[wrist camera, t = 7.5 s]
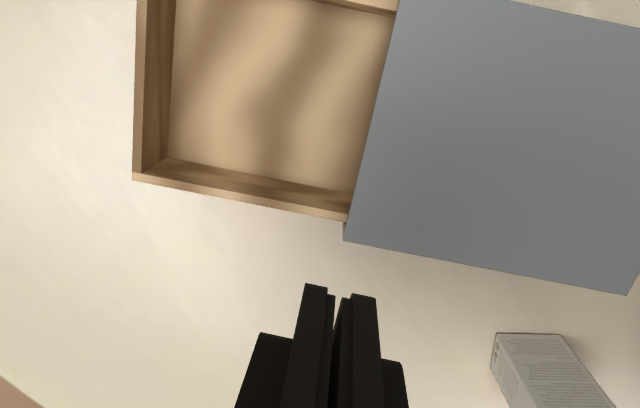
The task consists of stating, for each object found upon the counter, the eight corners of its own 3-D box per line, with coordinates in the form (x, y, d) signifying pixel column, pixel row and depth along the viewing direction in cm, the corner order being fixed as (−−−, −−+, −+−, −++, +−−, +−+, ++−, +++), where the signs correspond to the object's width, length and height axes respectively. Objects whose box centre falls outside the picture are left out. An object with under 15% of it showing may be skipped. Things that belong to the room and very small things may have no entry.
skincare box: (488, 367, 40) (547, 493, 28) (495, 331, 38) (560, 449, 27) (552, 369, 39) (637, 497, 28) (562, 333, 38) (655, 452, 27)
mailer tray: (446, 20, 28) (468, 14, 23) (394, 206, 33) (403, 233, 28) (173, -38, 28) (138, -56, 23) (162, 161, 33) (131, 180, 28)
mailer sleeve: (664, 52, 29) (759, 53, 23) (572, 249, 35) (626, 296, 28) (390, -6, 29) (405, -22, 22) (342, 204, 34) (342, 240, 28)
